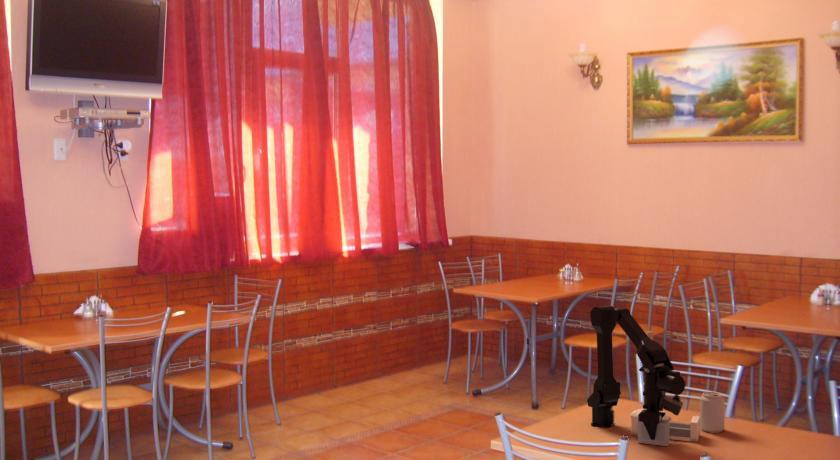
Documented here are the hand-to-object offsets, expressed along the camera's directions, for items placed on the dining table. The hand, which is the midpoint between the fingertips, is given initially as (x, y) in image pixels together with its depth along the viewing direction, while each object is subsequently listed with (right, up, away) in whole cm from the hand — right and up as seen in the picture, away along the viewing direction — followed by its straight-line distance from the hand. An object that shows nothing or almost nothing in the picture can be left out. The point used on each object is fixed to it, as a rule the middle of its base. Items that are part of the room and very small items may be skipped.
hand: (653, 438), depth 256 cm
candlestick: (+7, 0, +29) cm, 30 cm away
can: (+23, -1, +13) cm, 26 cm away
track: (+6, -1, +9) cm, 11 cm away
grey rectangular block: (0, -2, 0) cm, 2 cm away
